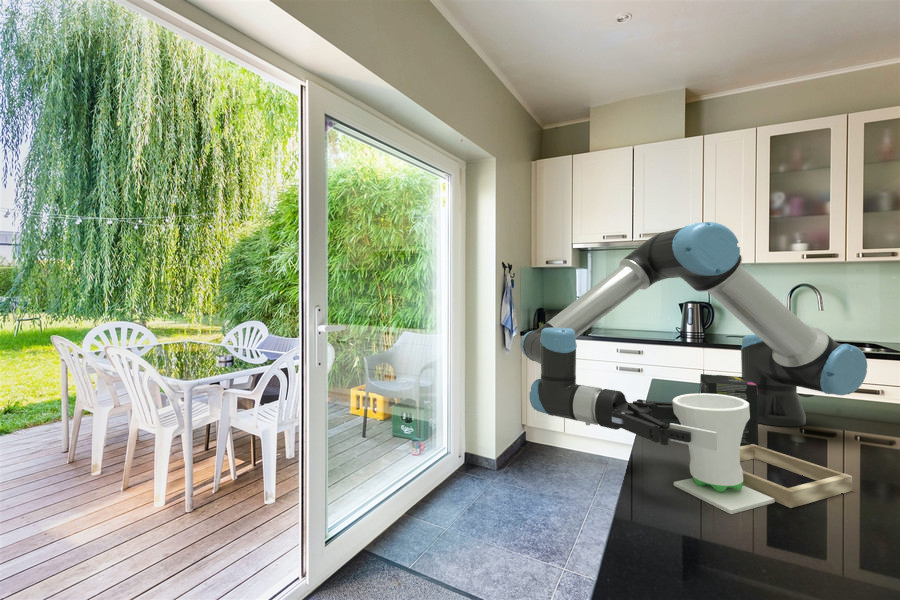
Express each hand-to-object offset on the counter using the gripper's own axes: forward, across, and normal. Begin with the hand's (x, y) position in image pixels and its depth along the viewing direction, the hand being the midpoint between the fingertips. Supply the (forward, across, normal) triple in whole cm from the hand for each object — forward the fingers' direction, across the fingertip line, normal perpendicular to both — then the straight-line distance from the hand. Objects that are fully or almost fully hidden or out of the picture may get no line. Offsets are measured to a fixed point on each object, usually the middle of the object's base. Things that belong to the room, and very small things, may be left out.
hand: (726, 431), depth 66 cm
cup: (-2, -2, -10) cm, 10 cm away
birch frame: (+4, -13, -11) cm, 17 cm away
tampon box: (-5, -29, -11) cm, 31 cm away
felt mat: (-1, 0, -11) cm, 11 cm away
